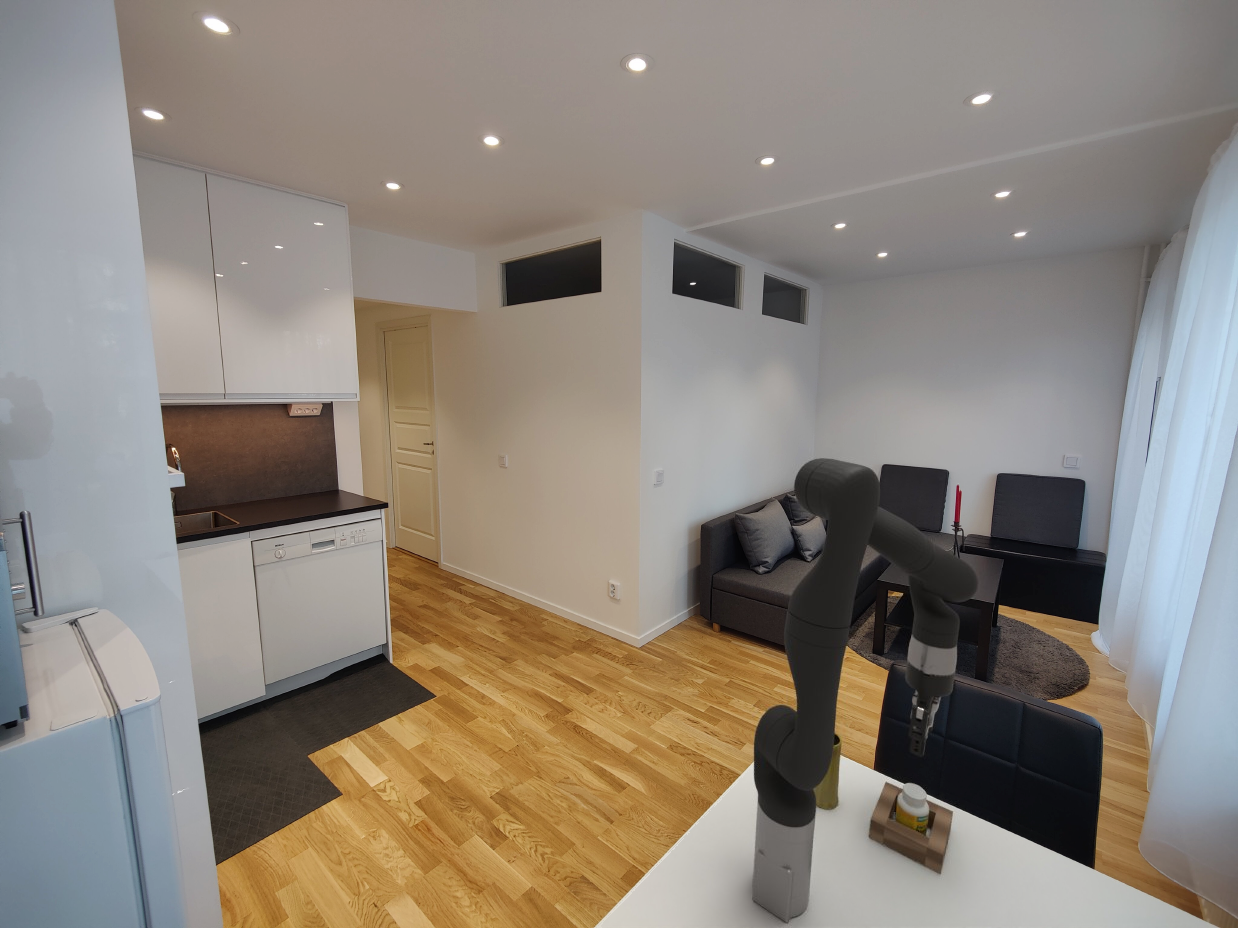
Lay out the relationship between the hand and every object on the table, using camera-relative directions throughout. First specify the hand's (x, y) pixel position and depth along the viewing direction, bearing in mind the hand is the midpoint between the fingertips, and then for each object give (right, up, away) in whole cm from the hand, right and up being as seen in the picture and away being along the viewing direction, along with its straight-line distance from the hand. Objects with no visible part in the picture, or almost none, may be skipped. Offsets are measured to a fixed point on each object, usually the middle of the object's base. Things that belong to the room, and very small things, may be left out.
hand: (921, 741), depth 99 cm
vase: (-14, -18, +12) cm, 26 cm away
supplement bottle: (0, -20, +4) cm, 20 cm away
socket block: (0, -20, +4) cm, 20 cm away
